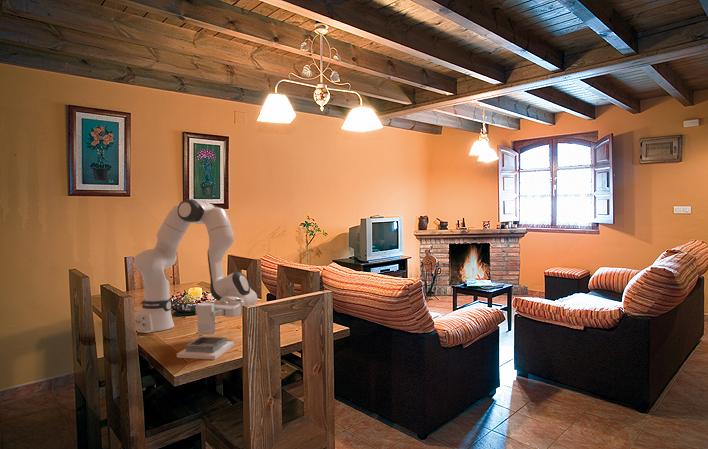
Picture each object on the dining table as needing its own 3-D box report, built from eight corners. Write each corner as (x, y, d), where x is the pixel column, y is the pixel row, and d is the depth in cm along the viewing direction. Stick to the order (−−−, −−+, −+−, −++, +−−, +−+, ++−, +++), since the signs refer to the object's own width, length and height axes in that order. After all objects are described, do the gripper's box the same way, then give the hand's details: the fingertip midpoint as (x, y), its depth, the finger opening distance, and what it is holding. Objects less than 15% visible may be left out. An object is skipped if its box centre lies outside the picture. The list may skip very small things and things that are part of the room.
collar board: (176, 357, 166) (176, 353, 166) (199, 343, 183) (199, 340, 183) (215, 359, 164) (215, 355, 164) (234, 345, 181) (234, 341, 181)
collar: (185, 351, 169) (185, 345, 169) (200, 342, 180) (200, 336, 180) (213, 352, 167) (212, 346, 167) (226, 343, 178) (226, 337, 178)
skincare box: (215, 331, 176) (215, 302, 175) (212, 335, 171) (212, 305, 171) (200, 332, 175) (199, 303, 175) (197, 335, 171) (196, 305, 170)
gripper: (210, 297, 189) (185, 303, 177) (246, 300, 180) (223, 308, 168) (210, 311, 189) (186, 318, 177) (247, 315, 180) (223, 323, 168)
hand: (204, 313), depth 172 cm, fingers closed on skincare box, 7 cm apart
